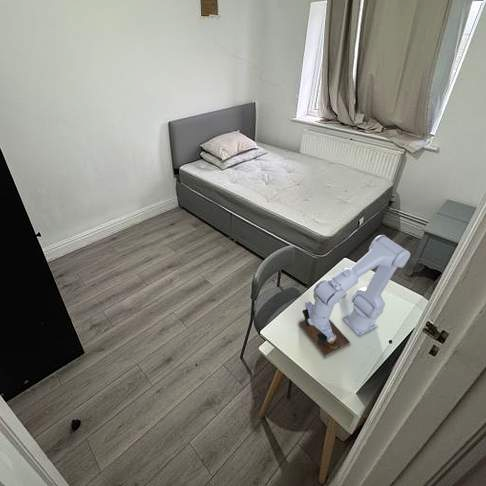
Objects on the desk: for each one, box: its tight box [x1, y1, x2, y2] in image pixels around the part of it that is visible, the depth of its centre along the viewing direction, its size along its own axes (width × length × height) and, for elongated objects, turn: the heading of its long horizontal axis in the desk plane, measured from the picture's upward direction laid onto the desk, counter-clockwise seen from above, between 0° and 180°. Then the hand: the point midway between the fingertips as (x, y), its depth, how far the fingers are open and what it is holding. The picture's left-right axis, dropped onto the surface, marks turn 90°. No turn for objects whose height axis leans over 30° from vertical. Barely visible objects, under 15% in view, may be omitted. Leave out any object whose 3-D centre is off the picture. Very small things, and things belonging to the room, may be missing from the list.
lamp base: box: [298, 319, 351, 358], centre depth 112 cm, size 12×15×4 cm
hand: (314, 334), depth 103 cm, fingers open, 7 cm apart
